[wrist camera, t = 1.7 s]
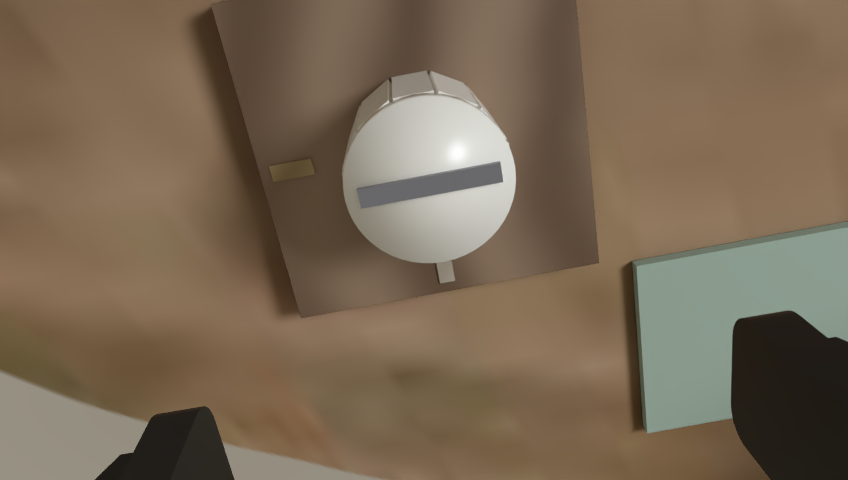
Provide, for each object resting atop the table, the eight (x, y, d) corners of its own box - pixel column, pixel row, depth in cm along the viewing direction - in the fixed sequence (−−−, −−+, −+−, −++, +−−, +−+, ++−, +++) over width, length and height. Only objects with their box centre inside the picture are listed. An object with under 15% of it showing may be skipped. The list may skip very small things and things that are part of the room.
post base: (560, -65, 27) (603, -73, 22) (589, 250, 32) (629, 305, 27) (219, 2, 27) (179, 10, 22) (304, 303, 32) (288, 368, 27)
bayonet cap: (481, 59, 27) (504, 82, 22) (501, 198, 29) (526, 248, 24) (336, 87, 27) (324, 117, 22) (367, 223, 29) (363, 279, 24)
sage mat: (878, 215, 32) (887, 219, 32) (863, 386, 36) (871, 393, 35) (632, 261, 32) (636, 266, 32) (643, 426, 36) (647, 433, 36)
